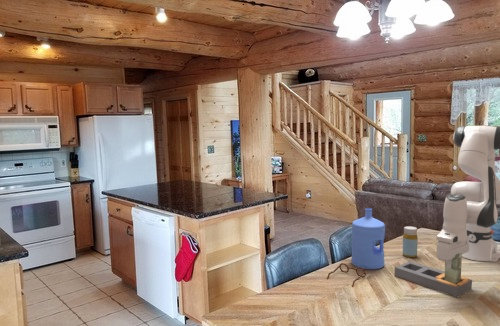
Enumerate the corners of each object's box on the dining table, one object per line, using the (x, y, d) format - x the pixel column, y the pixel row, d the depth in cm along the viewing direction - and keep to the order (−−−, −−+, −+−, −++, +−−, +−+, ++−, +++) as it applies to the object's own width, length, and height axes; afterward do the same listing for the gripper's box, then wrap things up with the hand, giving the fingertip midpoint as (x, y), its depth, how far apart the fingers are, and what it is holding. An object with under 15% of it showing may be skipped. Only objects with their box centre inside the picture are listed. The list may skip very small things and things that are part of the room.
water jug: (349, 267, 187) (350, 211, 184) (353, 257, 202) (354, 204, 199) (383, 272, 181) (384, 213, 178) (385, 260, 196) (386, 206, 193)
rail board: (410, 269, 184) (410, 260, 184) (471, 289, 162) (472, 279, 161) (394, 275, 177) (394, 266, 176) (456, 297, 154) (457, 287, 154)
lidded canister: (418, 258, 198) (419, 229, 197) (403, 257, 200) (404, 229, 198) (415, 253, 205) (416, 226, 203) (401, 253, 206) (402, 225, 205)
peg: (449, 277, 165) (450, 250, 163) (460, 281, 161) (461, 253, 160) (444, 280, 162) (445, 252, 161) (455, 283, 158) (456, 255, 157)
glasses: (366, 279, 175) (366, 268, 174) (352, 288, 165) (352, 277, 165) (340, 271, 184) (340, 261, 183) (325, 280, 174) (325, 269, 174)
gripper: (458, 228, 168) (457, 259, 169) (434, 236, 156) (432, 269, 157) (474, 231, 163) (472, 263, 164) (449, 240, 151) (448, 274, 152)
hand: (453, 266), depth 161 cm, fingers closed on peg, 4 cm apart
